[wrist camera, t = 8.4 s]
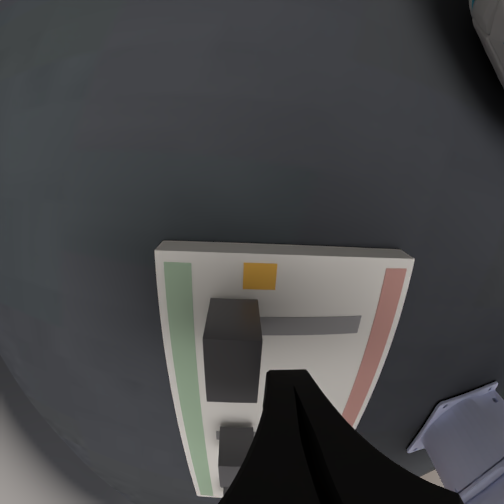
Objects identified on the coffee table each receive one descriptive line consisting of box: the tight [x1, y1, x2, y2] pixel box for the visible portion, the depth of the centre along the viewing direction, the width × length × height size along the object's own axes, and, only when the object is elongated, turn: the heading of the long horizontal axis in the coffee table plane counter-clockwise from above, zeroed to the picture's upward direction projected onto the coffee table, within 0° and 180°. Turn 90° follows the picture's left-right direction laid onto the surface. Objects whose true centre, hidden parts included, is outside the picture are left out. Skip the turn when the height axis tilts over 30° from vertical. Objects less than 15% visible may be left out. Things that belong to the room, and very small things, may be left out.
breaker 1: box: [203, 298, 263, 403], centre depth 11 cm, size 2×3×3 cm, turn 177°
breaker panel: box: [154, 240, 415, 498], centre depth 17 cm, size 12×25×2 cm, turn 177°
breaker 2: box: [218, 426, 254, 487], centre depth 14 cm, size 2×3×3 cm, turn 177°
